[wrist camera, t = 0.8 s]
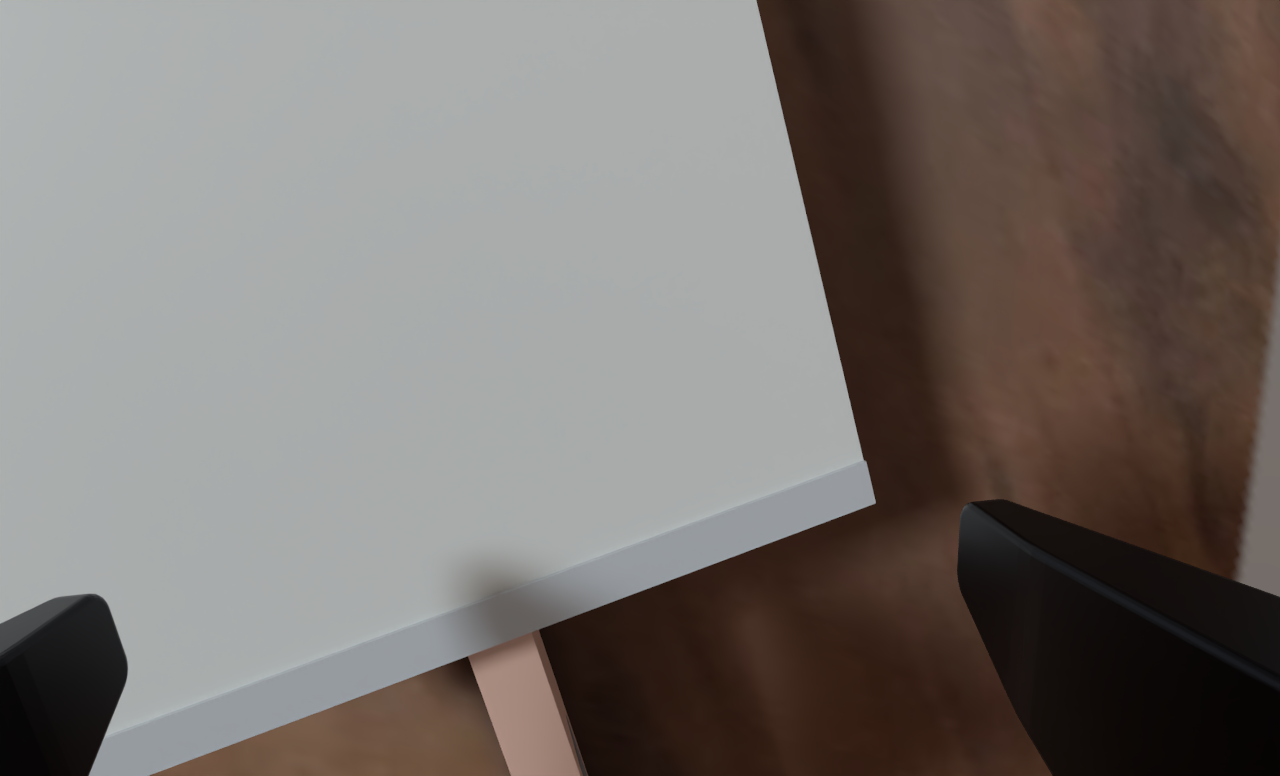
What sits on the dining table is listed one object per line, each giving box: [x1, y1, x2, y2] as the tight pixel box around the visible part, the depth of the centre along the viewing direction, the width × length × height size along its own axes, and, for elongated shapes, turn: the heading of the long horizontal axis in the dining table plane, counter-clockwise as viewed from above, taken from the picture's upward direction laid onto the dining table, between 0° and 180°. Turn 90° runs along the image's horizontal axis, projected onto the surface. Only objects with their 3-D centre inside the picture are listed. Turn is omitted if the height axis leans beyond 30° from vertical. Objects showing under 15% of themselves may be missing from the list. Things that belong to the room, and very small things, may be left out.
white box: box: [0, 0, 876, 776], centre depth 16 cm, size 15×14×7 cm
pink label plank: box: [468, 630, 588, 776], centre depth 18 cm, size 22×1×5 cm, turn 16°
